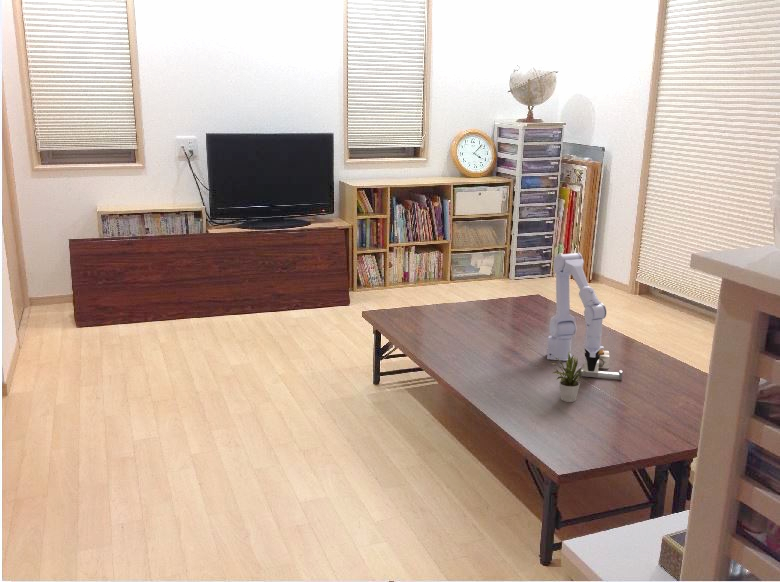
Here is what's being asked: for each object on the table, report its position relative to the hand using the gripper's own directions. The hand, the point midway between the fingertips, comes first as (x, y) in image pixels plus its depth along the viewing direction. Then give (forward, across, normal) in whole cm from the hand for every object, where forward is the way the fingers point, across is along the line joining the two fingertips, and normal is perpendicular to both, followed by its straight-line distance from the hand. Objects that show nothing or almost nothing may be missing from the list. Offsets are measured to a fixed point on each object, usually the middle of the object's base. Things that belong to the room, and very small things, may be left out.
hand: (591, 368), depth 271 cm
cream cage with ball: (+3, +13, -3) cm, 14 cm away
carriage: (+3, 0, 0) cm, 3 cm away
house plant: (+3, -23, +9) cm, 25 cm away
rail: (+3, 0, -3) cm, 5 cm away
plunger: (-2, +13, -3) cm, 14 cm away
